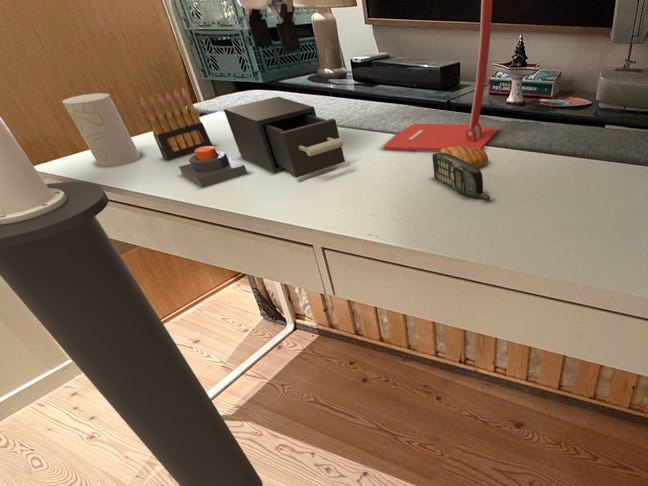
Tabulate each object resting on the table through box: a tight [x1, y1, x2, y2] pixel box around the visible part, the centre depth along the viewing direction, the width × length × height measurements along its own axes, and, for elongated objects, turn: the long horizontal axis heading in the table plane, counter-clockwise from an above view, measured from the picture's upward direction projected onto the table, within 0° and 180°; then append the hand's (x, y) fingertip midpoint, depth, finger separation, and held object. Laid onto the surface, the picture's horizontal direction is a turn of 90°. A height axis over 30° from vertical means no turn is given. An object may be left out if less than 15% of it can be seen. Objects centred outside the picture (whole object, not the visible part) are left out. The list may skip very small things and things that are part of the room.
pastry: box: [440, 145, 489, 169], centre depth 89 cm, size 9×7×4 cm
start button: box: [194, 145, 218, 160], centre depth 89 cm, size 4×4×2 cm
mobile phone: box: [431, 152, 491, 200], centre depth 80 cm, size 5×3×15 cm
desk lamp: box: [383, 0, 498, 152], centre depth 91 cm, size 18×38×40 cm, turn 73°
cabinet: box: [223, 96, 317, 174], centre depth 95 cm, size 15×12×10 cm
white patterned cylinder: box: [61, 92, 141, 167], centre depth 97 cm, size 8×8×12 cm
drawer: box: [262, 114, 346, 179], centre depth 89 cm, size 18×11×8 cm, turn 46°
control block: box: [178, 150, 248, 188], centre depth 91 cm, size 9×10×4 cm
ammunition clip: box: [139, 87, 213, 161], centre depth 99 cm, size 11×2×12 cm, turn 146°
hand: (278, 48), depth 83 cm, fingers open, 9 cm apart
